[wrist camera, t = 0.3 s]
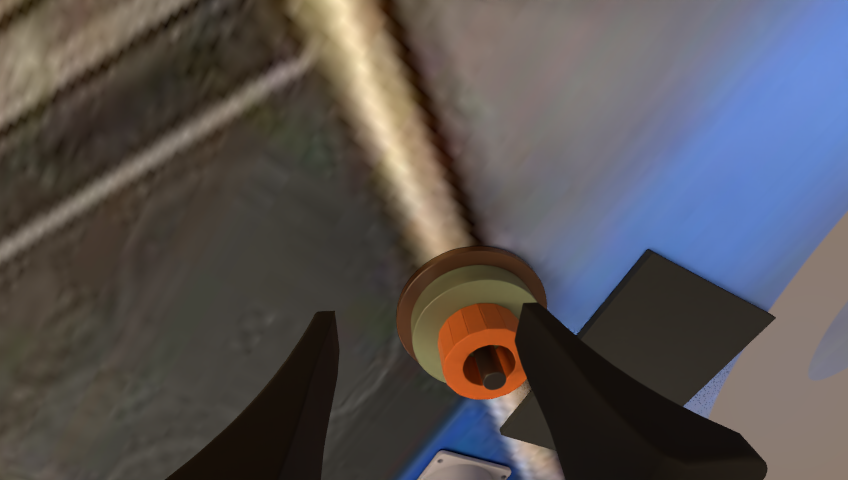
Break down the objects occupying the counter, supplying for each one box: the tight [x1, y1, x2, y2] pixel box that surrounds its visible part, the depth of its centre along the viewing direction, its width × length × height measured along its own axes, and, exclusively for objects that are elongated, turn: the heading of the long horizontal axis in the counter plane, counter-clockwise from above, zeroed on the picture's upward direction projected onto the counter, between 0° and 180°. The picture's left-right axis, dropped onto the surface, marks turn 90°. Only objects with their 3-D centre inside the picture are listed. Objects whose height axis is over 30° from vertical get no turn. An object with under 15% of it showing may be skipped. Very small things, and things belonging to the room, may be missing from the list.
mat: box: [500, 249, 776, 451], centre depth 30 cm, size 20×14×1 cm
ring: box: [438, 303, 527, 399], centre depth 23 cm, size 6×6×3 cm
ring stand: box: [396, 246, 547, 390], centre depth 23 cm, size 11×11×7 cm
